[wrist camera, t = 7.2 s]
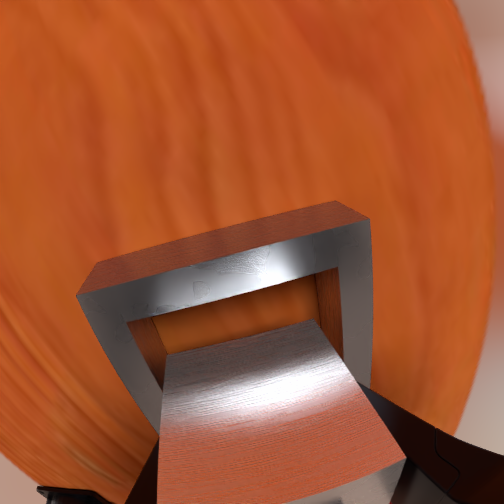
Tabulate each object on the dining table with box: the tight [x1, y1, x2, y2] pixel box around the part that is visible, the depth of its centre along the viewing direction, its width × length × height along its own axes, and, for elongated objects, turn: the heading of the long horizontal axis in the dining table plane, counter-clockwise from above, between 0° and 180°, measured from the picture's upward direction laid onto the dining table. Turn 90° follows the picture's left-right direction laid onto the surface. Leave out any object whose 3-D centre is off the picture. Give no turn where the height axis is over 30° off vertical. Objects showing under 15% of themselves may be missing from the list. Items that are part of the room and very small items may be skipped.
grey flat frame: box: [76, 201, 373, 436], centre depth 13 cm, size 9×18×2 cm, turn 11°
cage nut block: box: [157, 318, 406, 504], centre depth 8 cm, size 5×5×6 cm
